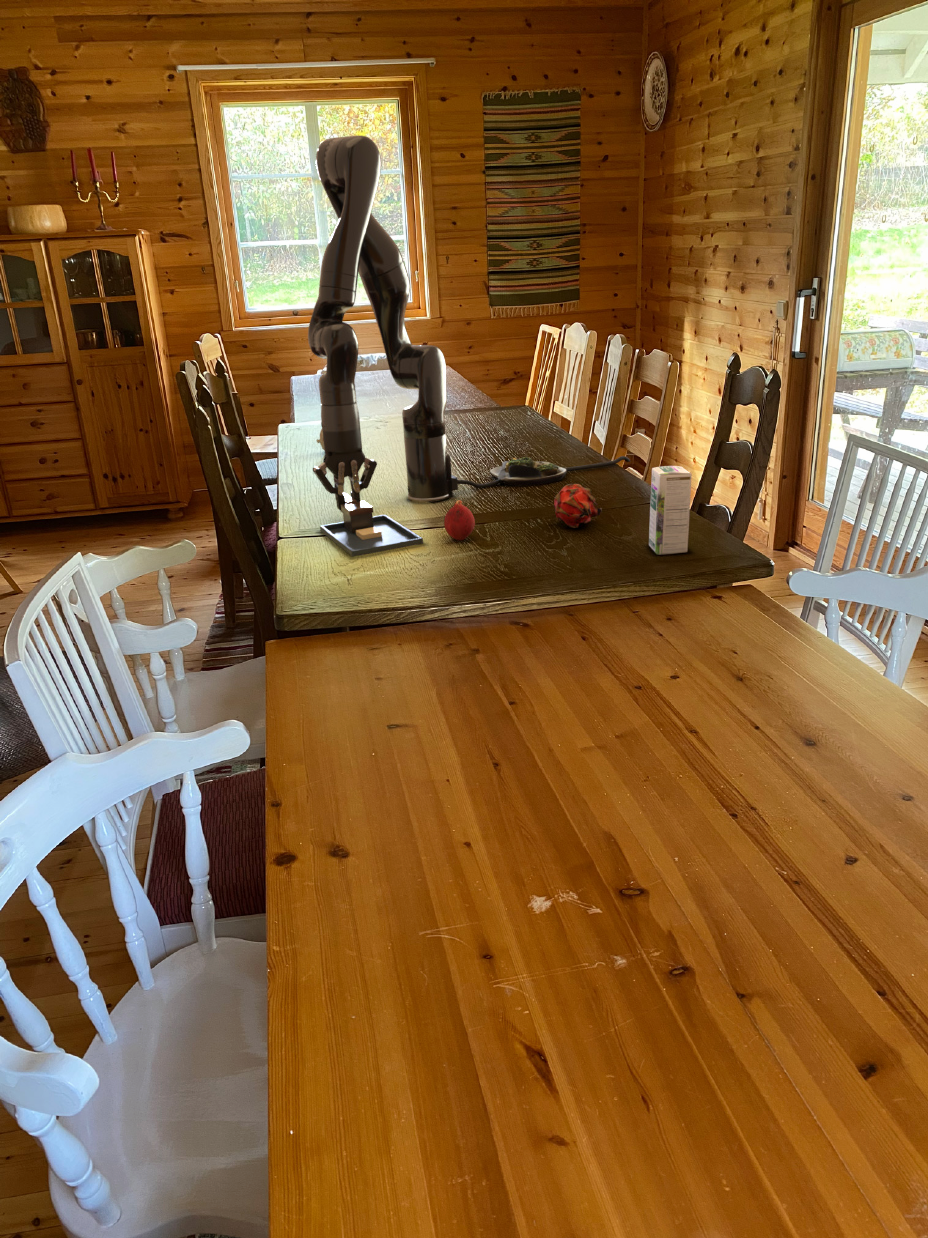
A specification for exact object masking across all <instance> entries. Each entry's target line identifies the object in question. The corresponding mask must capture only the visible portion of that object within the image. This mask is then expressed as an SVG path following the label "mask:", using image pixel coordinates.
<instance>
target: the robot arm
mask: <svg viewBox="0 0 928 1238" xmlns="http://www.w3.org/2000/svg"><path fill="white" fill-rule="evenodd" d="M315 155H316V156H315V164H316V165H315V166H316V169H317V175H318V178H319V180H320V182H321V185H322V187H323V189H324V192H325V194H326V197H327V198H328V200H329V202H330V204H331V206H332V208H333V210H334V212H335V215H336V217H337V219H338V222H337V225H336V226H335V229H334V231H333V233H332V234H331V236H330V239H329V240H328V242H327V245H326V248H325V250H324V253H323V256H322V260H321V265H320V275H319V283H318V296H317V299H316V301H315V304H314V307H313V311H312V314H311V317H310V321H309V324H308V329H307V342H308V345H309V349H310V351H311V353H313V355H315V356H316V357H317V358H320V359H323V360H324V359H326V371H325V373H323V374H321V375H320V376H319V378H318V389H319V390H318V391H319V398H320V399H319V400H320V420H321V422H320V424H321V426H320V427H321V429H322V431H323V440H324V450H325V451H324V450H323V451H324V457H323V460H322V463H320V464H319V465H318V466H313V468H312V472H313V474H314V475H315V476H316V478H317V479H318V480H319V482H320V483H321V485H322V487H324V489H325V490H326V491H327V492H328V493H329V494H332V495H334V496H335V495H336V499H335V502H336V508H337V509H338V510H339V511H340V512H341V513H342V514H343V511H342V510H341V505H342V504H346V503H345V495H344V493H345V478H348V480H349V485H350V490H351V491H350V497H352V498H353V499H355V500H357V502H361V501H362V500H361V491H363V490H366V489H368V488H369V486H370V483H371V480H372V478H373V476H374V474H375V471H376V468H377V466H378V462H377V461H376V460H374V459H372V458H368V457H366V455H365V453H364V451H363V444H362V443H363V442H362V431H361V420H360V412H359V407H358V403H357V402H358V401H357V392H356V391H357V390H356V382H355V380H356V373H357V368H358V367H357V366H358V359H359V339H358V336H357V333H356V331H355V330H354V328H353V327H352V326H351V325H350V324H349V323H347V322H345V321H344V318H345V313H346V312H347V311H348V310H350V309H352V308H353V307H354V306H355V302H356V299H357V298H356V297H357V289H358V288H357V287H358V279H359V277H360V280H361V283H362V285H363V286H362V287H363V289H364V291H365V294H366V296H367V298H368V302H369V303H370V306H371V309H372V313H373V316H374V318H375V321H376V324H377V328H378V331H379V334H380V337H381V341H382V345H383V346H382V347H383V350H384V353H385V357H386V361H387V365H388V369H389V372H390V374H391V377H392V379H393V381H394V382H395V384H396V385H397V386H398V387H400V388H402V389H406V390H417V391H418V394H417V395H418V396H417V397H418V398H417V401H415V402H414V404H413V403H412V404H411V405H409V406H406V407H404V408H403V409H402V412H401V417H402V430H403V443H404V454H405V467H406V468H405V469H406V481H407V482H406V483H407V487H406V488H407V493H408V494H407V498H408V500H409V501H411V502H417V503H435V502H440V501H441V502H442V501H444V500H448V499H450V498H454V493H453V492H454V491H458V490H459V485H467V486H471V487H473V488H476V489H485V488H490V487H494V486H497V485H500V484H503V483H504V482H503V481H501V480H499V479H496V480H493V481H490V482H486V483H478V482H477V483H476V482H474V481H471V480H467V479H458V477H457V476H454V475H453V474H452V460H451V459H452V458H451V455H450V454H449V453H448V451H447V450H448V449H447V436H446V435H447V434H446V420H445V419H446V418H445V415H446V414H445V413H446V408H447V364H446V359H445V355H444V353H443V351H442V350H441V348H440V347H438V346H436V345H432V344H412V342H411V340H410V337H409V334H408V332H407V331H408V330H407V328H406V321H405V315H406V310H407V306H408V302H409V298H410V291H411V280H410V277H409V273H408V270H407V267H406V264H405V261H404V259H403V254H402V253H401V251H400V248H399V246H398V245H397V243H396V242H395V241H394V239H393V238H392V237H391V236H390V234H389V233H388V232H387V231H386V229H384V227H383V226H382V225H381V224H380V223H379V221H378V220H377V219H376V218H375V216H374V215H373V214H372V211H373V206H374V201H375V198H376V195H377V191H378V187H379V182H380V177H381V171H382V158H381V154H380V150H379V148H378V146H377V143H375V141H373V139H372V138H370V137H369V136H365V135H360V134H359V135H358V134H357V135H347V136H338V137H331V138H330V137H329V138H327V139H324V140H322V141H321V142H320V144H319V146H318V147H317V149H316V154H315ZM621 461H625V462H627V463H631V460H630V458H629V457H627V456H626V455H622V456H619V457H617V458H616V459H614V460H610V461H605V462H599V463H592V464H585V465H584V464H583V465H577V466H570V467H563V468H564V469H566V473H569V472H577V471H583V470H590V469H597V468H602V467H603V468H604V467H609V466H614V465H616V464H618V463H620V462H621ZM362 466H363V468H364V469H363V471H362V474H361V477H360V476H359V472H360V470H361V469H362ZM327 469H328V470H329V471H330V473H331V474H332V476H333V483H334V484H332V483H331V482H330V480H329V478H328V477H327V474H328V472H327ZM504 484H505V483H504Z"/></svg>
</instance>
